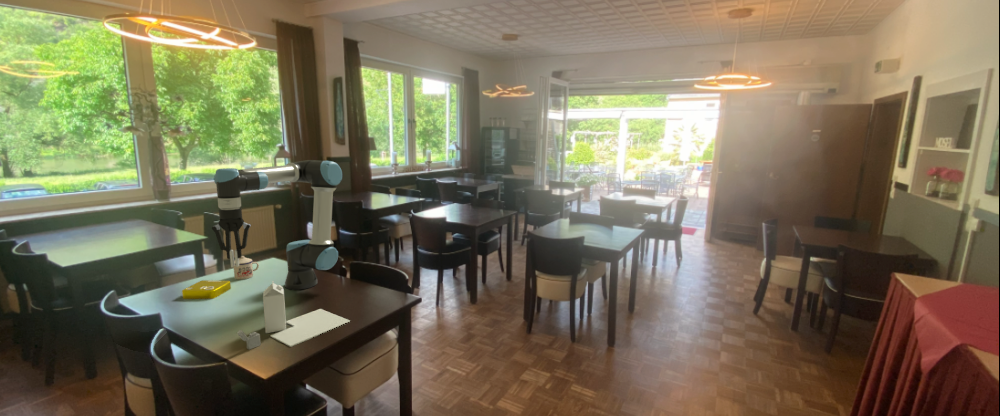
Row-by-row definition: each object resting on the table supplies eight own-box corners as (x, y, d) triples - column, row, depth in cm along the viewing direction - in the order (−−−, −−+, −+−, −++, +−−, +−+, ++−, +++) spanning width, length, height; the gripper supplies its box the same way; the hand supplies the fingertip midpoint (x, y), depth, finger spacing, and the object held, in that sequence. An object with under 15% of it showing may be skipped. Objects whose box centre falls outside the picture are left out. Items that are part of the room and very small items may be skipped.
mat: (320, 309, 185) (320, 308, 185) (350, 321, 173) (350, 320, 173) (260, 331, 163) (260, 330, 163) (290, 347, 152) (290, 345, 152)
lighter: (258, 343, 154) (256, 323, 153) (260, 345, 153) (259, 324, 152) (238, 351, 148) (236, 330, 147) (240, 353, 147) (238, 332, 146)
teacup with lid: (236, 281, 218) (234, 259, 216) (232, 276, 225) (230, 256, 223) (261, 276, 226) (260, 255, 224) (257, 272, 233) (255, 252, 231)
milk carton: (265, 333, 162) (262, 287, 158) (266, 326, 168) (262, 281, 165) (286, 330, 165) (283, 284, 162) (285, 323, 171) (282, 279, 168)
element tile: (232, 288, 209) (232, 279, 208) (213, 300, 194) (212, 290, 193) (202, 288, 208) (201, 279, 208) (180, 299, 194) (179, 290, 193)
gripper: (206, 210, 156) (212, 270, 160) (248, 208, 161) (253, 267, 165) (211, 207, 163) (217, 265, 167) (252, 205, 168) (256, 261, 172)
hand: (235, 266), depth 166 cm, fingers closed
